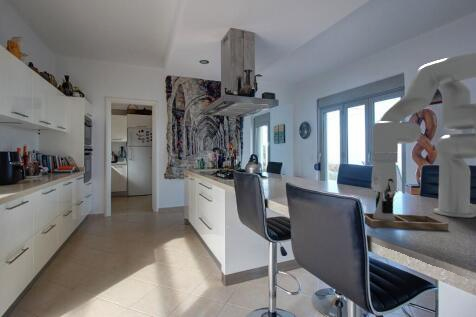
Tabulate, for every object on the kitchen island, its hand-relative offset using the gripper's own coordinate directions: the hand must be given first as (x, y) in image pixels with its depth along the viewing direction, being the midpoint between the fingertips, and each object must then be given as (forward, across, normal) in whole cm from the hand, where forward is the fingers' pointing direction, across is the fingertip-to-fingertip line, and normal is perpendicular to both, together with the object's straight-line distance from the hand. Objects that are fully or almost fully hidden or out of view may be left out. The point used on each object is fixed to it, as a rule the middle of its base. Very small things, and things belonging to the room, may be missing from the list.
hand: (384, 210), depth 89 cm
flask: (+3, 0, 0) cm, 3 cm away
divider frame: (+4, 0, +5) cm, 7 cm away
